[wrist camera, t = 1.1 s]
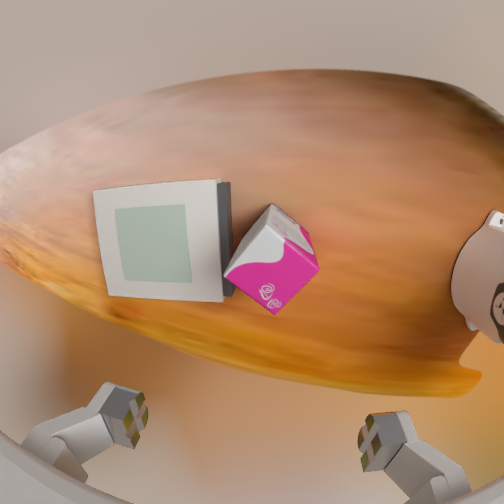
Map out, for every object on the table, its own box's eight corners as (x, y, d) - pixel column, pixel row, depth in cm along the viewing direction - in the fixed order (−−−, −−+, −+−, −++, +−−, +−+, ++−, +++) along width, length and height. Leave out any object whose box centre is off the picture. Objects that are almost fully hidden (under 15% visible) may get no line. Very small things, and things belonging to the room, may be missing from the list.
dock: (229, 177, 32) (224, 178, 29) (235, 291, 36) (230, 303, 32) (105, 188, 33) (91, 191, 30) (119, 286, 37) (107, 296, 34)
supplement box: (240, 240, 34) (219, 275, 23) (272, 201, 32) (266, 219, 21) (277, 270, 34) (275, 318, 23) (310, 234, 33) (324, 267, 22)
